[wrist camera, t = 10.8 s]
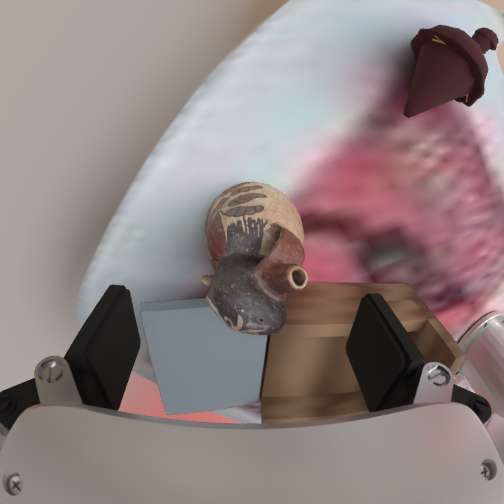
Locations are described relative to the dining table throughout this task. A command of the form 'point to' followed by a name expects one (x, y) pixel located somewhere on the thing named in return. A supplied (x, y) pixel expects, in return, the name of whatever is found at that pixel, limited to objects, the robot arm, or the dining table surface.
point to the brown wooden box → (337, 350)
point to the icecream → (448, 67)
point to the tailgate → (201, 357)
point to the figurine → (254, 257)
